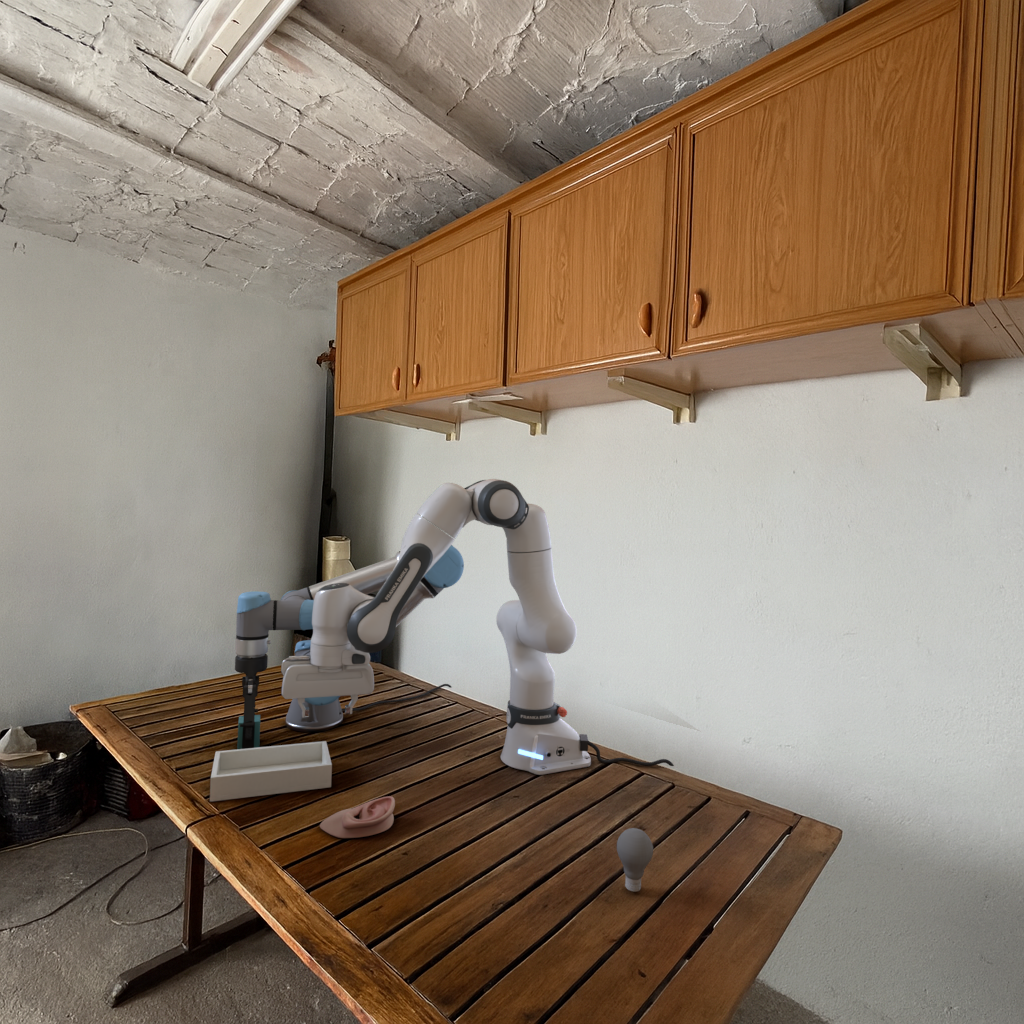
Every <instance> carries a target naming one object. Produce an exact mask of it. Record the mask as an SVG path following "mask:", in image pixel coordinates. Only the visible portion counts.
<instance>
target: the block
mask: <svg viewBox="0 0 1024 1024" xmlns="http://www.w3.org/2000/svg"><path fill="white" fill-rule="evenodd" d="M243 722H244V715H240V716H238V723H237V727H238V728H237V749H242V734H243V727H240V724H243ZM254 722H255V733H254V748H258V747H260V744H261V743H260V740H261V714H255V718H254ZM237 749H236V750H237Z"/></svg>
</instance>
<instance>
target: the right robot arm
mask: <svg viewBox="0 0 1024 1024" xmlns="http://www.w3.org/2000/svg"><path fill="white" fill-rule="evenodd" d="M472 521H477V522H480V523H481V524H484V525H487V526H494V527H498V528H502V530H503V532H504V536H505V538H506V556H507V569H508V580H509V584H510V585H511V587H512V588H513V589H514V591H515V592H516V595H517V597H518V599H512V600H507V601H506V602H505V603H503V604H502V605H501V606H500V608H499V609H498V611H497V614H496V627H497V628H498V630H499V632H500V634H501V636H502V638H503V641H504V645H505V649H506V654H507V659H508V664H509V679H510V680H509V700H508V701H507V708H506V724H507V728H506V733H505V739H504V744H503V747H502V751H501V753H500V761H501V762H502V763H503V764H505V765H506V766H508V767H511V768H514V769H517V770H520V771H526V772H529V773H531V774H534V775H538V776H543V775H547V774H548V775H549V774H554V773H559V772H565V771H572V770H577V769H582V768H587V767H590V766H591V765H592V758H591V755H590V754H589V753H588V752H589V747H590V748H592V749H593V750H594V751H595V754H596V759H597V761H598V762H600V763H601V764H612V763H619V762H622V763H624V762H625V763H629V764H633V765H637V766H642V767H654V766H658V765H661V764H667V766H670V767H675V765H674V764H673V762H672V761H670V760H669V759H666V758H660V759H657V760H654V761H650V762H649V761H641V760H637V759H632V758H627V757H614V758H611V759H605V758H604V759H603V758H602V757H601V751H600V749H599V747H598V746H597V745H596V744H594V743H593V742H591V740H590V741H589V738H588V734H585V733H583V734H582V733H579V732H577V730H576V729H574V727H573V726H571V725H570V724H569V723H568V722H567V721H565V720H564V719H562V718H565V717H566V716H567V715H568V711H567V708H564V706H561V705H560V704H558V703H556V702H555V685H556V673H555V670H554V668H553V666H552V665H551V663H550V661H549V659H548V656H547V654H551V655H552V654H553V655H560V654H565V653H567V652H568V651H569V650H570V649H571V648H572V647H573V645H574V644H575V642H576V640H577V635H578V627H577V624H576V621H575V620H574V618H573V617H572V616H571V615H570V613H569V612H568V610H567V609H566V607H565V605H564V602H563V600H562V597H561V595H560V593H559V588H558V585H557V581H556V577H555V570H554V560H553V547H552V537H551V533H550V532H551V531H550V526H549V522H548V518H547V514H546V511H545V510H544V509H543V508H542V507H541V506H539V505H538V504H534V503H528V502H527V501H526V499H525V498H524V496H523V494H522V493H521V491H520V490H519V488H518V487H517V486H516V485H515V484H513V483H511V482H509V481H508V480H502V479H499V478H498V479H497V478H488V479H482V480H478V481H475V482H474V483H472V484H470V485H468V486H466V487H463V486H461V485H460V484H457V483H453V482H444V483H442V484H440V485H439V486H438V487H437V488H436V489H435V490H434V491H433V492H432V493H431V494H430V495H429V496H428V497H427V498H426V499H425V500H424V502H423V503H422V504H421V505H420V507H419V508H418V510H417V511H416V513H415V514H414V516H413V517H412V519H411V520H410V522H409V524H408V525H407V528H406V530H405V532H404V534H403V537H402V539H401V545H400V550H399V551H400V555H399V558H398V561H397V564H396V566H395V568H394V569H393V571H392V573H391V574H390V576H389V577H388V579H387V580H386V582H385V583H384V585H383V586H382V588H381V589H380V590H378V591H377V594H376V595H375V597H374V596H371V595H369V594H367V595H366V594H363V593H361V592H359V591H358V590H356V589H354V588H353V587H352V586H351V585H350V584H347V583H335V584H330V585H327V586H324V587H322V588H320V589H319V590H318V591H317V593H316V595H315V598H314V604H313V612H312V626H313V629H312V635H311V638H310V640H311V648H310V655H304V656H295V655H289V656H288V657H287V658H285V659H284V660H282V662H281V664H280V665H281V667H280V672H281V675H282V676H283V677H282V683H281V696H282V697H283V698H284V699H285V700H292V699H296V698H298V704H299V706H300V707H301V709H302V717H309V707H305V706H304V704H303V703H304V702H305V698H313V697H331V696H340V697H346V696H347V697H348V696H350V698H351V700H350V701H349V703H348V704H345V705H344V708H345V711H344V715H352V714H353V711H352V708H354V706H355V705H356V703H357V702H358V700H359V696H361V695H362V696H364V695H371V694H372V693H373V692H374V690H375V675H374V669H373V667H372V665H371V664H370V663H371V655H370V654H373V653H374V654H375V653H378V652H381V651H383V650H384V649H386V648H387V647H388V646H390V644H391V643H392V641H393V639H394V636H395V634H396V629H397V627H396V623H397V618H398V616H399V614H400V612H401V610H402V608H403V607H404V605H405V604H406V602H407V601H408V599H409V597H410V596H411V594H412V593H413V591H414V590H415V588H416V587H417V585H418V584H419V582H420V581H421V579H422V578H423V577H424V575H425V574H426V573H427V572H428V571H429V570H430V569H431V568H432V566H433V565H434V564H435V563H436V562H437V561H438V560H439V559H440V558H441V557H442V556H443V555H444V553H445V552H446V551H447V550H448V549H449V547H450V546H451V545H452V546H453V543H455V540H456V539H457V537H458V536H459V534H460V533H461V531H462V530H463V528H464V527H466V525H468V524H469V523H470V522H472ZM351 644H352V645H353V646H352V645H351ZM309 660H310V662H309Z"/></svg>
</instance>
